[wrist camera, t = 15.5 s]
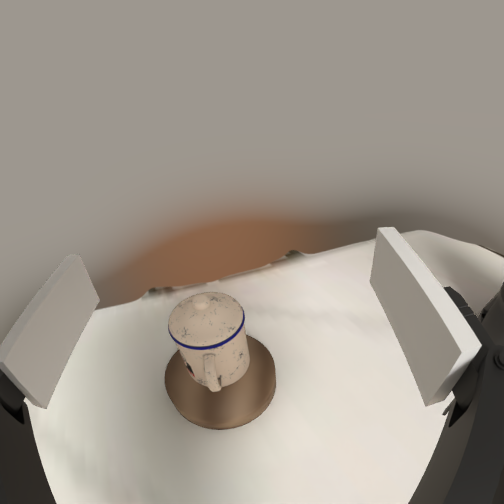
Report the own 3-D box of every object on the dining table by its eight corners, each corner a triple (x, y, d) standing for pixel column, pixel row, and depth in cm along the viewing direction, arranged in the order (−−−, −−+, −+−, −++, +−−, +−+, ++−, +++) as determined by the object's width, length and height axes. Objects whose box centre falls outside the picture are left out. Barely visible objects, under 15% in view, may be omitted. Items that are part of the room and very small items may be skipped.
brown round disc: (273, 341, 43) (272, 328, 42) (278, 427, 31) (278, 418, 29) (179, 345, 44) (175, 332, 43) (163, 426, 31) (155, 416, 30)
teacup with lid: (187, 342, 41) (165, 280, 35) (247, 334, 41) (237, 269, 35) (185, 412, 30) (152, 354, 24) (259, 404, 31) (249, 343, 25)
